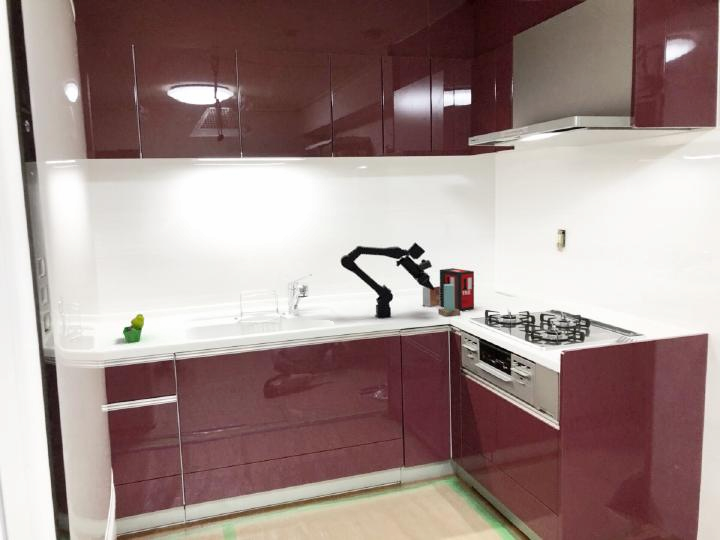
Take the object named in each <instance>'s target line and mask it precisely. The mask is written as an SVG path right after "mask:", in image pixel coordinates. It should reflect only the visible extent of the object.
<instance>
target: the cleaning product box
mask: <svg viewBox="0 0 720 540" xmlns="http://www.w3.org/2000/svg"><path fill="white" fill-rule="evenodd" d="M444 284H453V285H454V298H455V309H458V310H460V311H462V312H467V311H466V310H468V311H472V310H475V272H474V270H473V271H472V270H467V269H459V268H452V267H451V268H443V269H439V286H440V305H439V307H440V306H441V307H440V308H443V307H444Z"/></svg>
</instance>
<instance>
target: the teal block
mask: <svg viewBox="0 0 720 540" xmlns="http://www.w3.org/2000/svg"><path fill="white" fill-rule="evenodd" d="M444 310H445V311H451V310H455V298H454V285H453V284H444Z"/></svg>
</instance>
